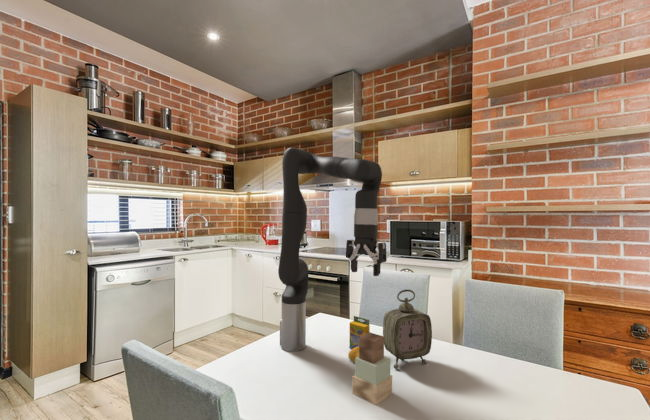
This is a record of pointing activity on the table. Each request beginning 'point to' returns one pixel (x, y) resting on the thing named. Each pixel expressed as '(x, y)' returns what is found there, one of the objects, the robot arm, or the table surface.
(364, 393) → the oak block
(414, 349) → the tabletop clock
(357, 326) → the crayon box
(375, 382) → the sage block
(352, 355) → the bread roll
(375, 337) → the walnut block
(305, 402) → the table surface
